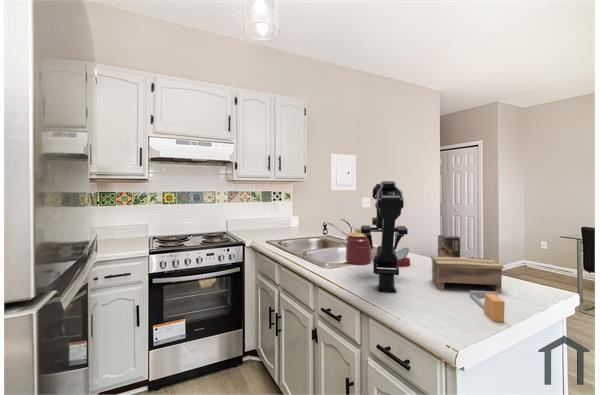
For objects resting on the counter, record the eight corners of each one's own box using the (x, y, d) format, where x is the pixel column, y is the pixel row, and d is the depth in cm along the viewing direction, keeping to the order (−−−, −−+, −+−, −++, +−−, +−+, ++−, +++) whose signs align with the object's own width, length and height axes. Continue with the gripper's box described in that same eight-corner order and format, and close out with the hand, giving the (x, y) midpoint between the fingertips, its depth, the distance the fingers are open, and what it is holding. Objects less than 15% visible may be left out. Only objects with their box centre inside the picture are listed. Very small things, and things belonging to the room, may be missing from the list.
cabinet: (503, 293, 108) (504, 266, 108) (438, 290, 112) (438, 263, 112) (489, 283, 119) (489, 258, 119) (430, 280, 124) (431, 256, 123)
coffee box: (460, 271, 136) (460, 236, 136) (460, 275, 131) (460, 238, 130) (438, 268, 141) (438, 234, 140) (437, 272, 135) (437, 237, 134)
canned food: (407, 276, 145) (408, 260, 140) (386, 271, 150) (386, 256, 145) (412, 261, 153) (413, 245, 148) (392, 256, 158) (392, 242, 153)
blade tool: (529, 323, 85) (530, 302, 85) (493, 321, 87) (493, 301, 86) (496, 297, 104) (496, 280, 104) (467, 296, 106) (467, 279, 106)
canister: (348, 257, 163) (348, 225, 162) (373, 259, 158) (373, 226, 158) (343, 263, 151) (343, 228, 150) (369, 266, 146) (369, 230, 146)
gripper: (403, 211, 132) (403, 246, 133) (360, 211, 136) (360, 245, 137) (407, 214, 121) (407, 252, 122) (361, 213, 125) (361, 251, 126)
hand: (383, 250), depth 127 cm, fingers open, 9 cm apart
